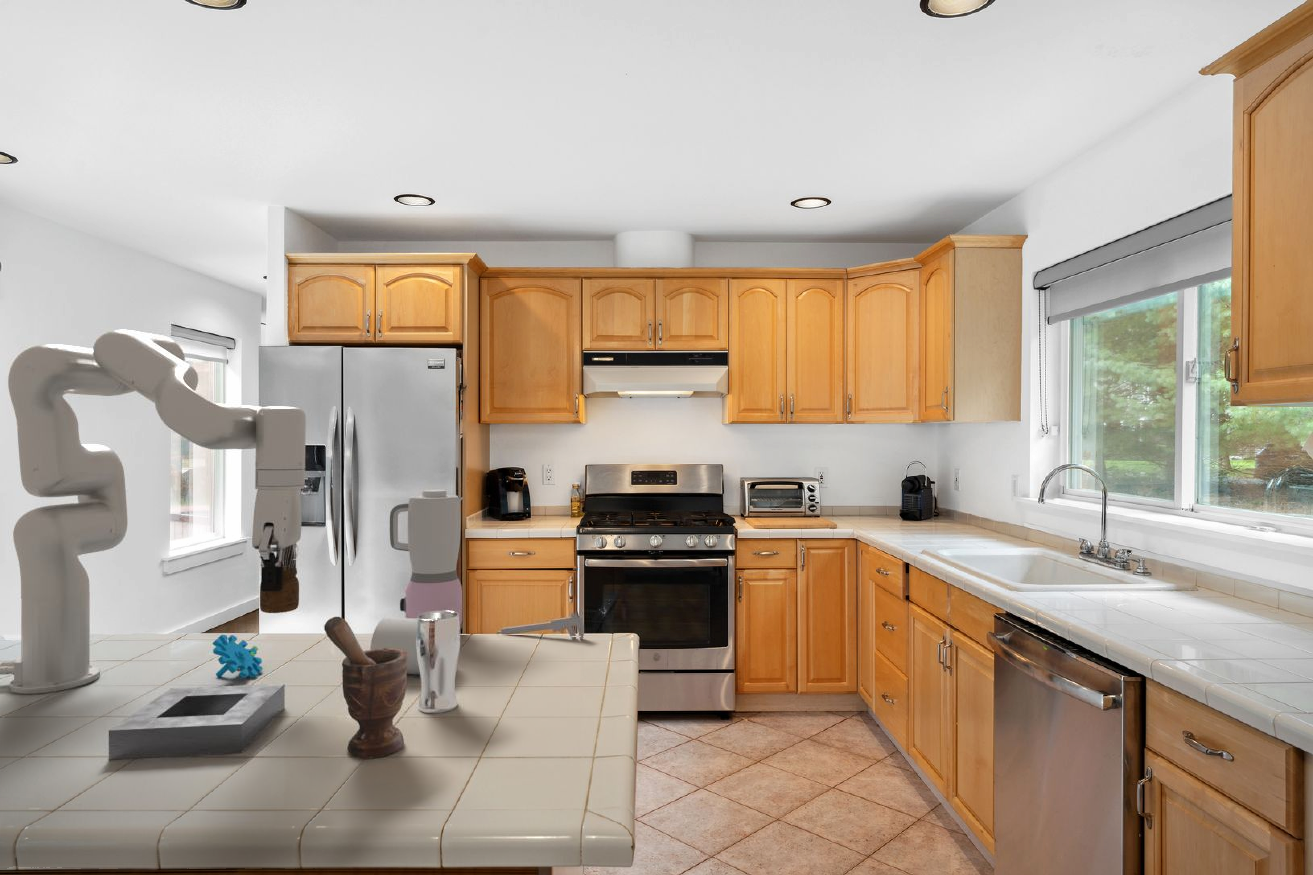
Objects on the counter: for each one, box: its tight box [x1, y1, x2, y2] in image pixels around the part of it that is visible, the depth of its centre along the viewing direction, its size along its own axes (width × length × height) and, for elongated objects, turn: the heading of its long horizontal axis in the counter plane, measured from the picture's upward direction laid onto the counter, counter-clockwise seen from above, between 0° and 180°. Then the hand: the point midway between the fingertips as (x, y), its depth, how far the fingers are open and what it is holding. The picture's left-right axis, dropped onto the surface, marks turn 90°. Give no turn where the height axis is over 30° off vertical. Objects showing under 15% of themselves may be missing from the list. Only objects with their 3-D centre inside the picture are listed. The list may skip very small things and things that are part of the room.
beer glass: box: [416, 611, 461, 714], centre depth 122 cm, size 7×7×15 cm
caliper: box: [495, 611, 585, 641], centre depth 165 cm, size 20×1×6 cm, turn 76°
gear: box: [212, 634, 263, 679], centre depth 137 cm, size 11×6×10 cm
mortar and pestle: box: [323, 616, 408, 759], centre depth 104 cm, size 12×9×20 cm
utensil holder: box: [259, 543, 300, 614], centre depth 126 cm, size 6×6×12 cm
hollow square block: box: [108, 683, 286, 761], centre depth 111 cm, size 17×17×4 cm
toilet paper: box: [369, 617, 420, 676], centre depth 140 cm, size 10×10×10 cm
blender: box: [389, 489, 464, 630], centre depth 166 cm, size 16×12×32 cm
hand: (278, 585), depth 126 cm, fingers closed on utensil holder, 5 cm apart
